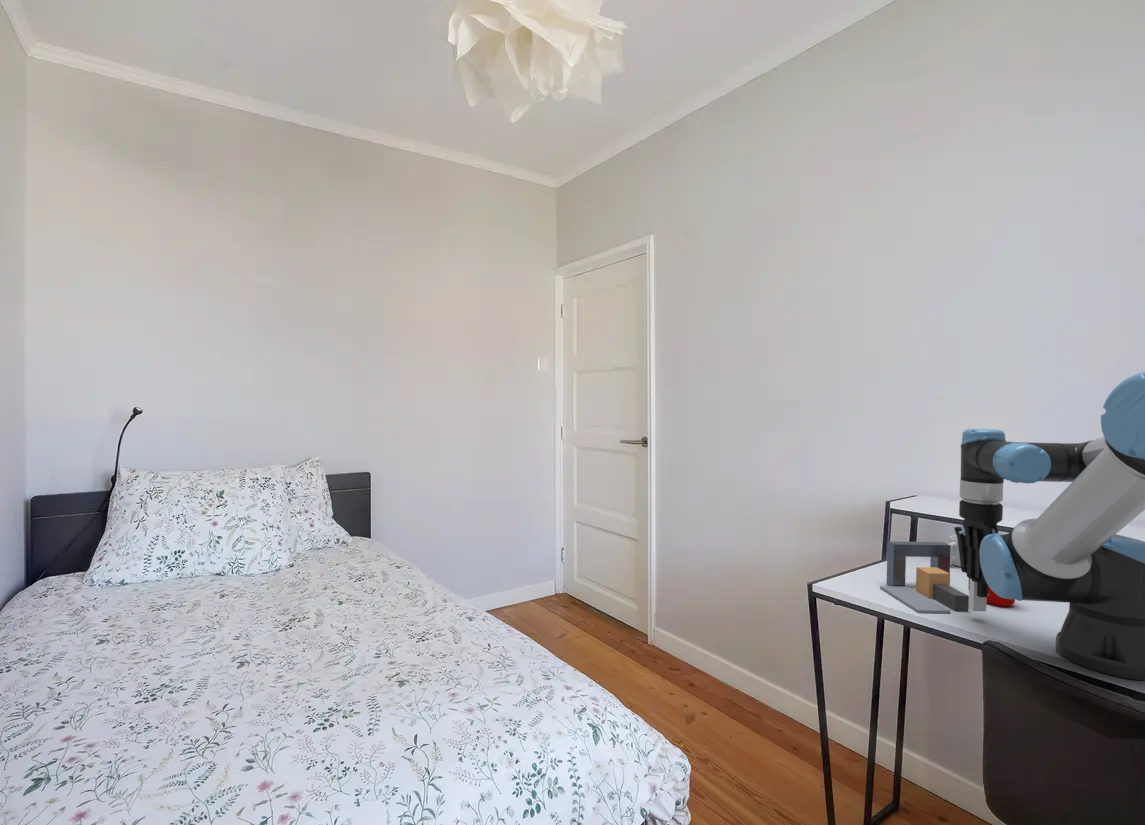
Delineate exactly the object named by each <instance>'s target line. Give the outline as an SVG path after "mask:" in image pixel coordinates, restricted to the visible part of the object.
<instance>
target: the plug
mask: <svg viewBox="0 0 1145 825" xmlns="http://www.w3.org/2000/svg"><path fill="white" fill-rule="evenodd" d="M915 572H916V574H915V576H916V577H915V591H917V592H919V593H920V594H922V595H924V596H926V597H927V598H929V599H933V601H934V600H935V602H938V603H939V604H940V605H941V604H942V606H945V607H947V609H948V608H949V610H952V611H954V612H969V610H970V609H969V594H966V593H964V592H962V591H961V590H958V589H956V588H955V587H952V586H951V572H950V573H948V572H946V571H943V570H941V569H939V568H937V567H930V566H927V567H926V566H917V567H916V571H915Z"/></svg>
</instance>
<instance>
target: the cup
mask: <svg viewBox="0 0 1145 825" xmlns="http://www.w3.org/2000/svg"><path fill="white" fill-rule="evenodd" d="M948 542H949V543H947V544H949V545H951V548H950V562H951V563H952V564H953V565H954V566H956V567H959V568H961V564H960V556H959V547H958V539H957V535H956V534H952V535H949V537H948Z"/></svg>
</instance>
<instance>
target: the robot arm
mask: <svg viewBox="0 0 1145 825" xmlns="http://www.w3.org/2000/svg"><path fill="white" fill-rule="evenodd" d="M1102 408H1103V409H1104V410H1105V412H1104V413H1103V414H1101V415H1100V427H1101V431H1102V434H1103V437H1099V438H1096V439H1093V440H1092V439H1091V440H1088V441H1085V442H1078V443H1074V442H1073V443H1070V442H1069V443H1067V442H1065V443H1064V442H1063V443H1061V442H1029V441H1028V442H1025V441H1023V442H1021V441H1020V442H1019V441H1017V442H1016V441H1007V440H1006V434H1005V432H1004V431H1003V430H1001V429H995V428H992V429H991V428H967V429H965V430H964V431H963V432H962V435H961V443H960V479H959V497H960V498H961V500H960V501H959V506H958V509H959V510H958V513H959V514H958V516H960V518H962V519H963V521H962V525H961V526H955V527H954V532H955V535H957V539H958V547H959V556H960V564H961V567H960V570H961V572H962V573H965V574H966V578H968V587H967V588H968V596H969V610H970V611H972V612H987V602H986V600H987V596H988V586H989V587H990V589H991V590H992V591H993V592H994V593H996V594H997V595H998V596H999V597H1002V598H1006V599H1015V601H1019V602H1020V601H1021V602H1022V601H1027V602H1028V601H1031V602H1051V603H1069V606H1068V612H1067V614H1066V616H1065V619H1064V620H1063V623H1062V626H1061V629H1060V631H1059V632H1058V633H1057V634H1056V636H1055V650H1056V652H1057V653H1058V654H1059V655H1060V656H1062V657H1063V658H1065V659H1067V660H1069V661H1071V662H1073V663H1074V664H1077V665H1079V666H1083V667H1085V668H1088V669H1090V670H1094V671H1097V672H1100V673H1103V674H1106V675H1110V676H1115V677H1118V678H1124V679H1129V680H1136V681H1143V680H1145V541H1143V540H1140V539H1136V538H1133V537H1130V536H1125V535H1121V534H1118V533H1119V532H1120V531H1121V530H1123V528H1125V527H1126V526H1127V525H1129V524H1130V523H1131V522H1132V521H1134V520H1135V519H1136V518H1138V516H1139V515H1140V514H1142V513H1143V512H1144V511H1145V371H1141V372H1138V373H1136V374H1134V375H1131V376H1129V377H1127V378H1126V379H1124V380H1123V381H1121V382H1120V383H1118V384H1117V385H1116V386H1115V388H1113V389H1112V390H1111V391H1110V393H1109V394H1108V396H1107V397H1106V400H1104V403H1103V406H1102ZM1005 480H1007V481H1010V482H1011V483H1015V484H1017V483H1021V484H1035V483H1037V482H1047V483H1048V482H1055V483H1058V482H1059V483H1060V482H1061V483H1063V482H1064V483H1070V484H1069V485H1068V486H1067V487H1066V488H1065V489H1064V490H1063V491H1062V492H1061V493H1060V495H1058V496H1057V497H1056V498H1055V499H1054V501H1052V502H1051V503H1050V505H1048V507H1047V508H1046V509H1045V510H1043V511H1042V513H1041V514H1040V515H1039V516H1038V517H1037V518H1029V519H1025V520H1022V521H1020V522H1018V524H1016V525H1015V526H1014V527H1013V528H1012V529H1011V530H1010V531H1009V532H1008V533H1005V534H1000V533H999V529H998V523H1000V522H1002V521H1003V516H1004V515H1003V514H1004V513H1003V510H1004V506H1003V504H1002V503H1001V502H1003V500H1004V483H1005Z"/></svg>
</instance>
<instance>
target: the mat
mask: <svg viewBox="0 0 1145 825" xmlns="http://www.w3.org/2000/svg"><path fill="white" fill-rule="evenodd" d="M879 589H881V590H882V591H884V592H885V593H886V594H888V595H889V596H890V597H892V598H895V599H896V600H897V601H899V602H901V603H902V604H904V605H905V606H906V607H908V608H910V609H911V608H912V609H911V610H913V611H914V612H916V613H918V614H949V615H950V614H951V609H948V608H946V606H945V607H944V605H941V604H940V603H939V602H938V603H937V601H934V599H933V600H932V598H927V597H926V596H924V595H922V594H920V593H919V592H917V591H916V589H913V588H912V587H910V586H906V585H905V586H889V585H881V586H879Z"/></svg>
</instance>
